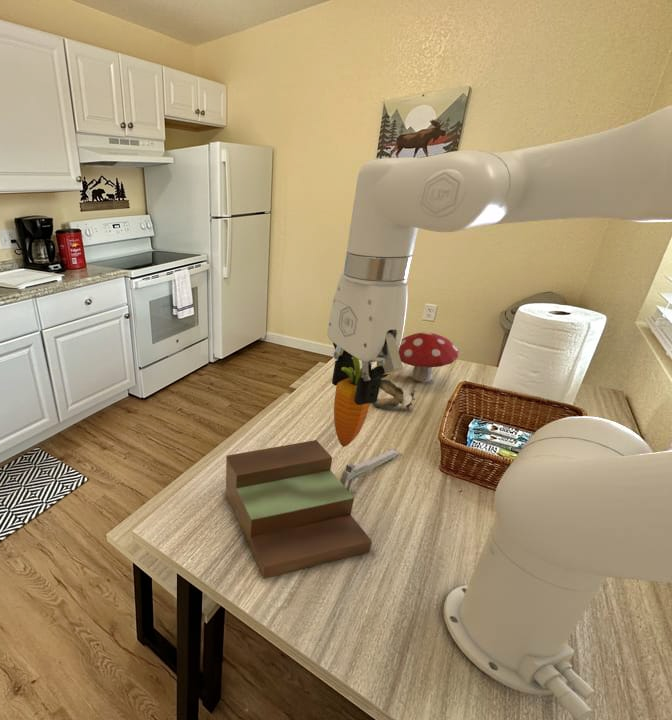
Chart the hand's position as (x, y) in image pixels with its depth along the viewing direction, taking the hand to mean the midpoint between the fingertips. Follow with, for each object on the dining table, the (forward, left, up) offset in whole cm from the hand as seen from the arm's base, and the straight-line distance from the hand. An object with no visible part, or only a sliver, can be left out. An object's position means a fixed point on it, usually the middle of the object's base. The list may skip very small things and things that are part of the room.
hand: (353, 391), depth 56 cm
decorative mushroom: (+40, -53, -26) cm, 71 cm away
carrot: (0, 0, -10) cm, 10 cm away
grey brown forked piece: (+30, -36, -26) cm, 54 cm away
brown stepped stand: (+2, +7, -26) cm, 26 cm away
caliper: (+9, -14, -26) cm, 31 cm away
